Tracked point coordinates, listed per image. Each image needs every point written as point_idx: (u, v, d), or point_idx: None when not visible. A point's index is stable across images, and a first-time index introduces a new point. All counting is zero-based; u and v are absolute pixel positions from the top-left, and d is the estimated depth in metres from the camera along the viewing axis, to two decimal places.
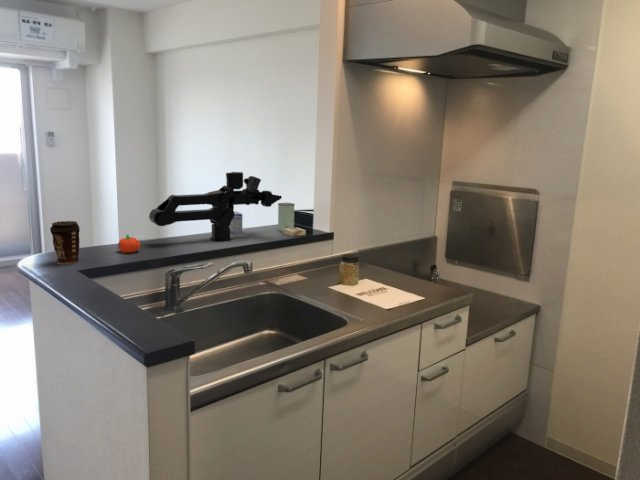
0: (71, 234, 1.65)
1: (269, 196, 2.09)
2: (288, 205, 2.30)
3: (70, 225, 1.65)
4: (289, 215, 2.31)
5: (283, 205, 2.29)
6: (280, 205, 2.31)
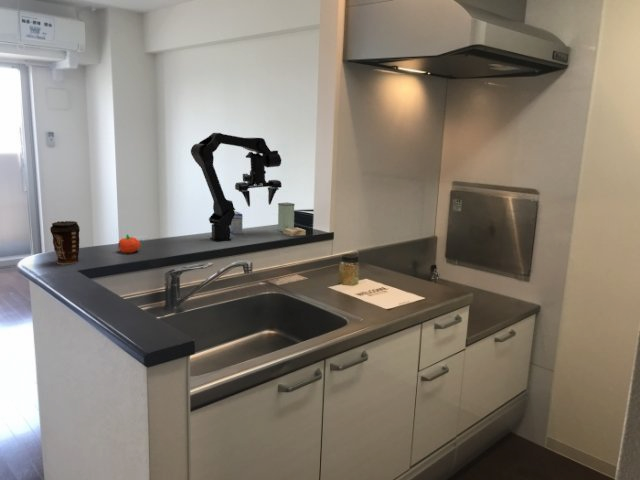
0: (71, 234, 1.65)
1: None
2: (288, 205, 2.30)
3: (70, 225, 1.65)
4: (289, 215, 2.31)
5: (283, 205, 2.29)
6: (280, 205, 2.31)
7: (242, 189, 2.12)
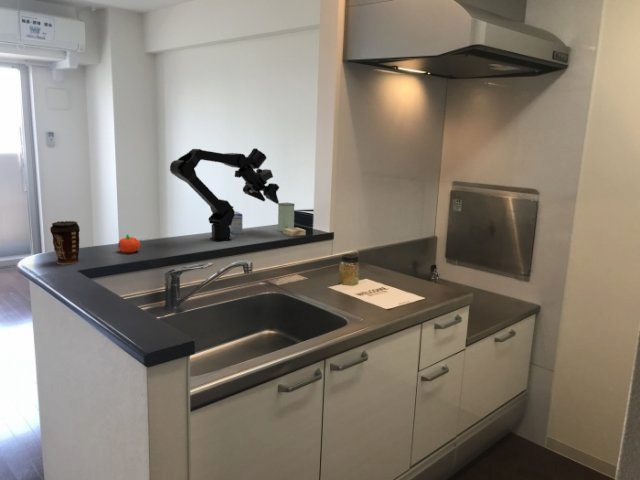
0: (71, 234, 1.65)
1: (276, 189, 2.15)
2: (288, 205, 2.30)
3: (70, 225, 1.65)
4: (289, 215, 2.31)
5: (283, 205, 2.29)
6: (280, 205, 2.31)
7: (245, 193, 2.26)
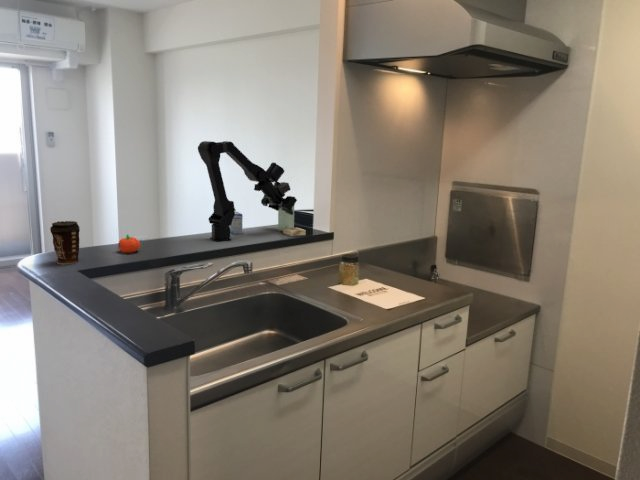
0: (71, 234, 1.65)
1: (294, 201, 2.22)
2: None
3: (70, 225, 1.65)
4: (289, 215, 2.31)
5: None
6: (280, 205, 2.31)
7: (263, 205, 2.33)
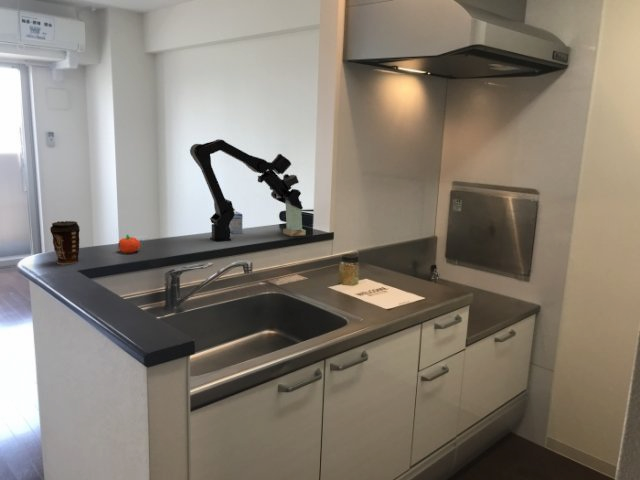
0: (71, 234, 1.65)
1: (297, 195, 2.13)
2: None
3: (70, 225, 1.65)
4: (295, 213, 2.22)
5: None
6: (287, 203, 2.23)
7: None
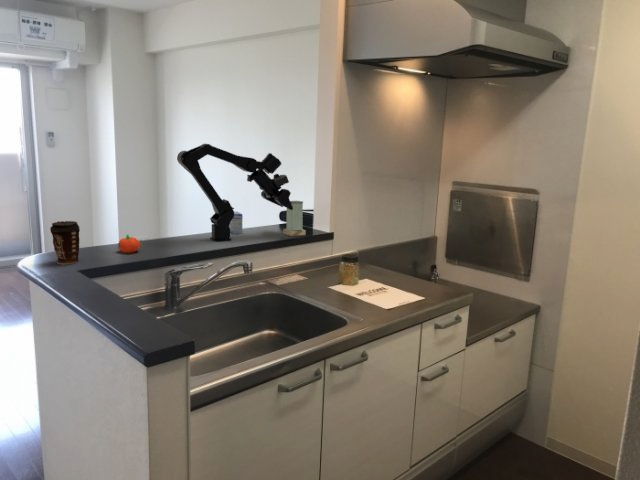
0: (71, 234, 1.65)
1: (286, 195, 2.11)
2: (295, 203, 2.21)
3: (70, 225, 1.65)
4: (297, 213, 2.22)
5: None
6: None
7: (263, 197, 2.25)
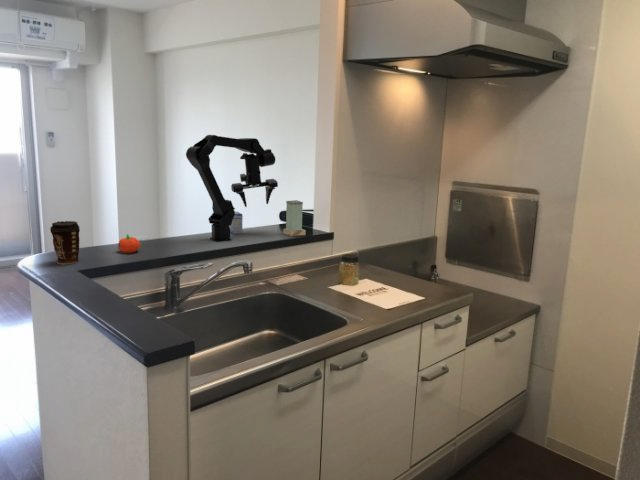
0: (71, 234, 1.65)
1: None
2: (295, 203, 2.20)
3: (70, 225, 1.65)
4: (296, 213, 2.22)
5: (290, 203, 2.21)
6: (288, 203, 2.22)
7: (237, 191, 2.13)
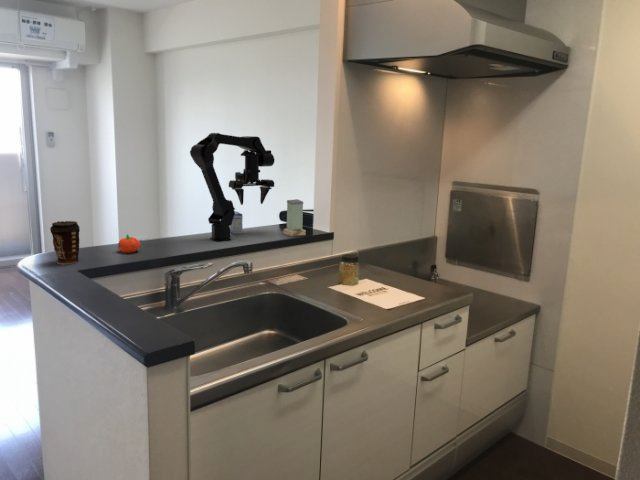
0: (71, 234, 1.65)
1: None
2: (295, 203, 2.20)
3: (70, 225, 1.65)
4: (297, 213, 2.22)
5: (290, 203, 2.21)
6: (288, 203, 2.22)
7: (237, 187, 2.12)
